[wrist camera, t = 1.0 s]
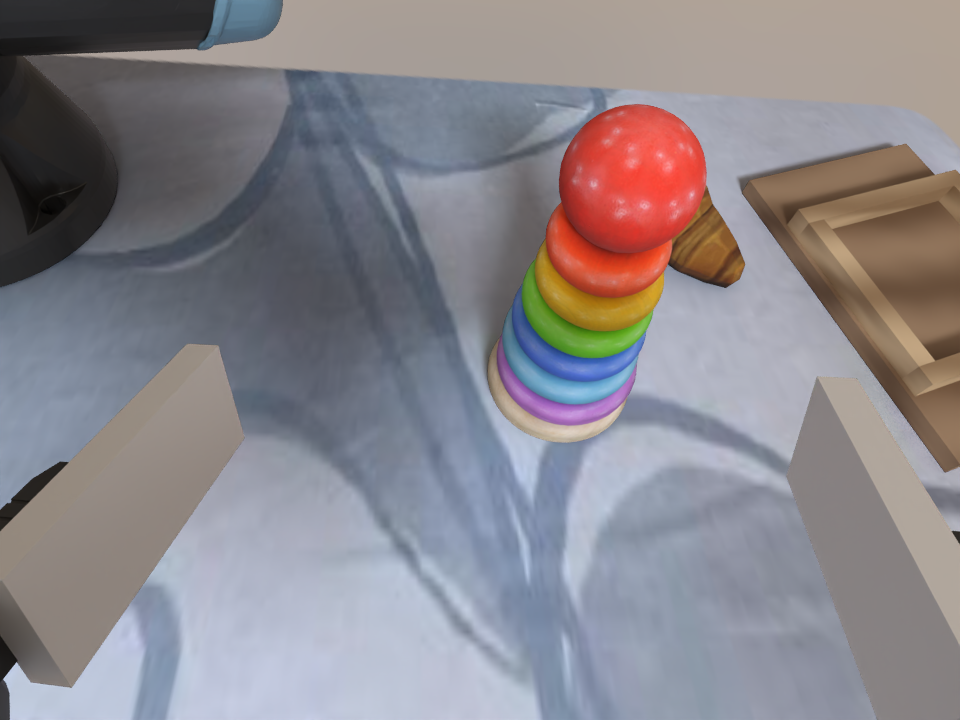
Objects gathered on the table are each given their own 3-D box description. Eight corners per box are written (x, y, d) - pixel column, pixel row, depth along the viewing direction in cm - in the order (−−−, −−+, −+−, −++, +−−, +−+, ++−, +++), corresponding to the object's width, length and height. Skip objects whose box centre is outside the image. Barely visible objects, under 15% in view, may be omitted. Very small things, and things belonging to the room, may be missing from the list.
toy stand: (741, 192, 46) (759, 164, 44) (895, 156, 49) (919, 127, 47) (945, 472, 36) (981, 455, 34) (1119, 403, 40) (1163, 383, 37)
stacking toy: (499, 313, 39) (556, 22, 23) (628, 340, 39) (777, 66, 23) (473, 430, 35) (520, 179, 19) (617, 461, 35) (788, 233, 19)
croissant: (758, 260, 43) (796, 209, 39) (704, 320, 40) (738, 271, 36) (600, 153, 47) (618, 95, 43) (541, 201, 44) (554, 144, 40)
